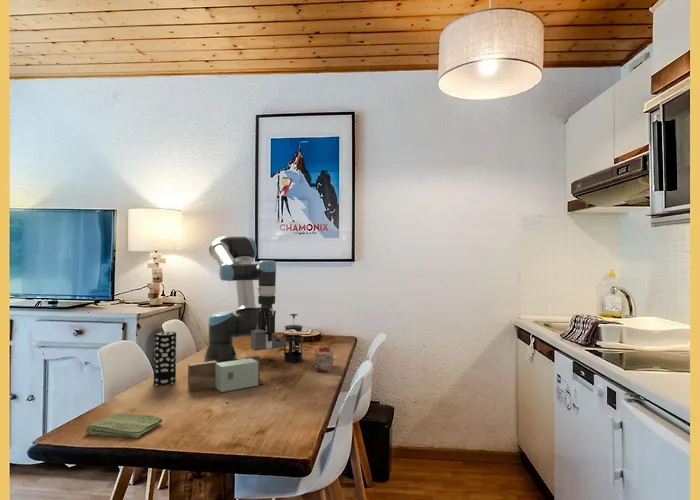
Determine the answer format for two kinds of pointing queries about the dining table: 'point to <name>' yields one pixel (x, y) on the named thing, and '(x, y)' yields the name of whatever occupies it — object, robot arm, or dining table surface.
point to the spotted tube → (164, 358)
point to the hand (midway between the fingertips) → (265, 346)
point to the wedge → (264, 340)
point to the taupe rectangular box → (207, 374)
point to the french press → (296, 355)
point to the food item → (324, 359)
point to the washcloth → (124, 425)
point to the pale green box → (236, 374)
